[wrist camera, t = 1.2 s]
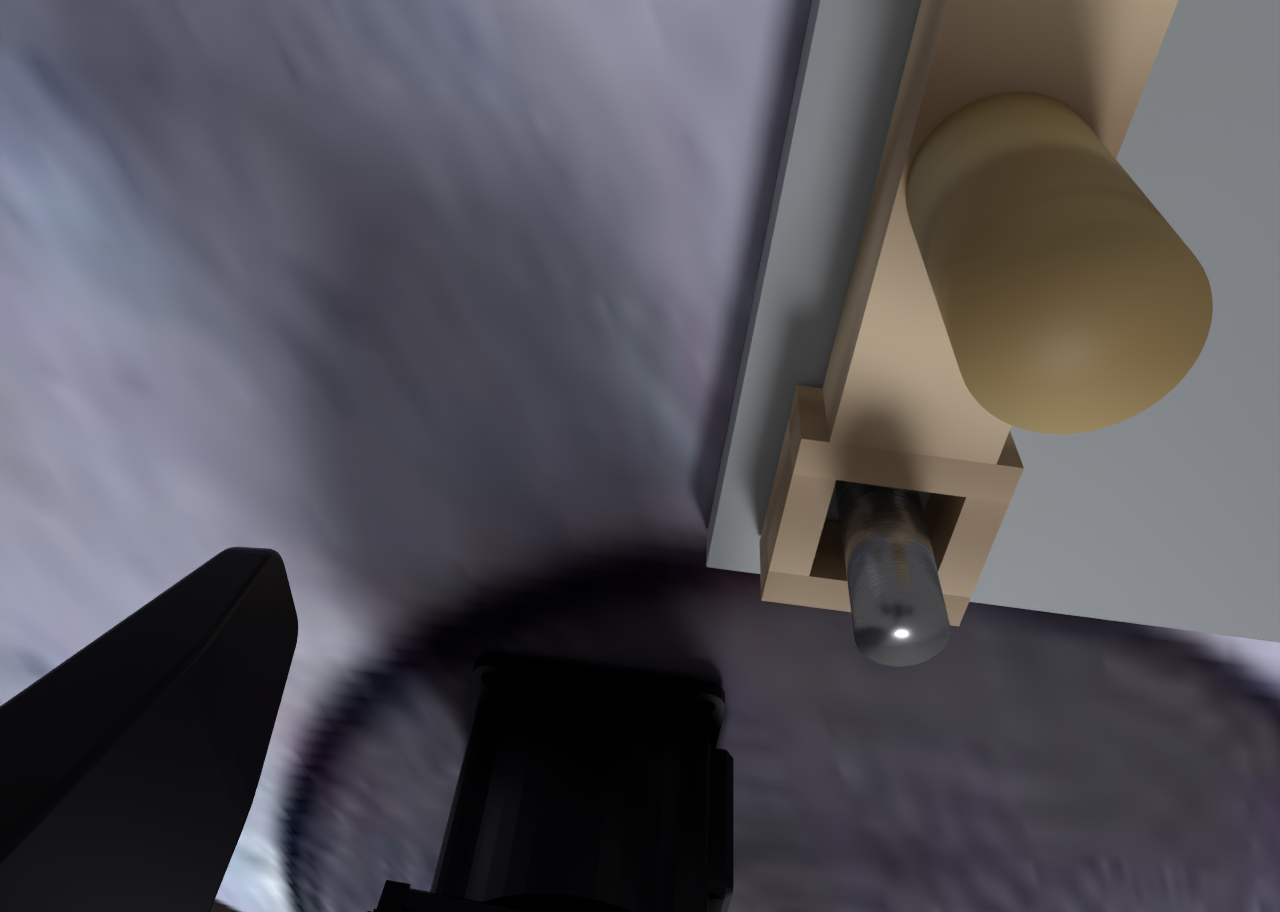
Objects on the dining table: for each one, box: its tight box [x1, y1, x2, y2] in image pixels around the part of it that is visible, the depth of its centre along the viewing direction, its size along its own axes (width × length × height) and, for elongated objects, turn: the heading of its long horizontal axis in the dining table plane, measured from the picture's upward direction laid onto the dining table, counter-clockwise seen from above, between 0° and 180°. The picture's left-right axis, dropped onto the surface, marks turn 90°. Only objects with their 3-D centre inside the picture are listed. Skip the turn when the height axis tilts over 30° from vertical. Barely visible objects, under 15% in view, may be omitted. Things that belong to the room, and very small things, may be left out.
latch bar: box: [759, 0, 1213, 626], centre depth 16 cm, size 14×4×6 cm, turn 174°
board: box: [706, 0, 1280, 642], centre depth 18 cm, size 16×19×1 cm
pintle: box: [835, 480, 951, 666], centre depth 20 cm, size 2×2×4 cm
